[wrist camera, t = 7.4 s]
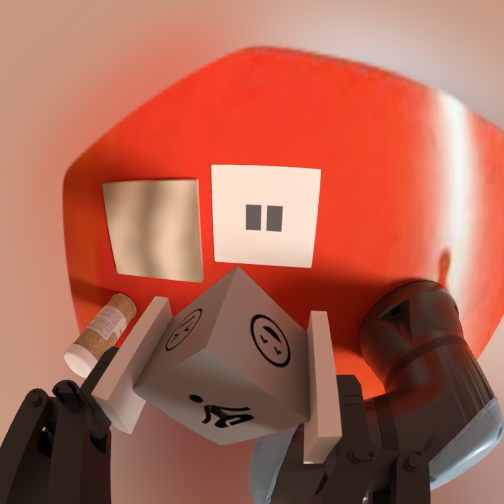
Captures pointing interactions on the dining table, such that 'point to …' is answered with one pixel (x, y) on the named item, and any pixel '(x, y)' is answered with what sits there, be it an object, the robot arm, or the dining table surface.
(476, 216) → the dining table surface
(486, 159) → the dining table surface
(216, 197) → the white tile
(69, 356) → the sprinkles bottle
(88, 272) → the dining table surface
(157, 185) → the birch coaster
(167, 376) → the dice cube
